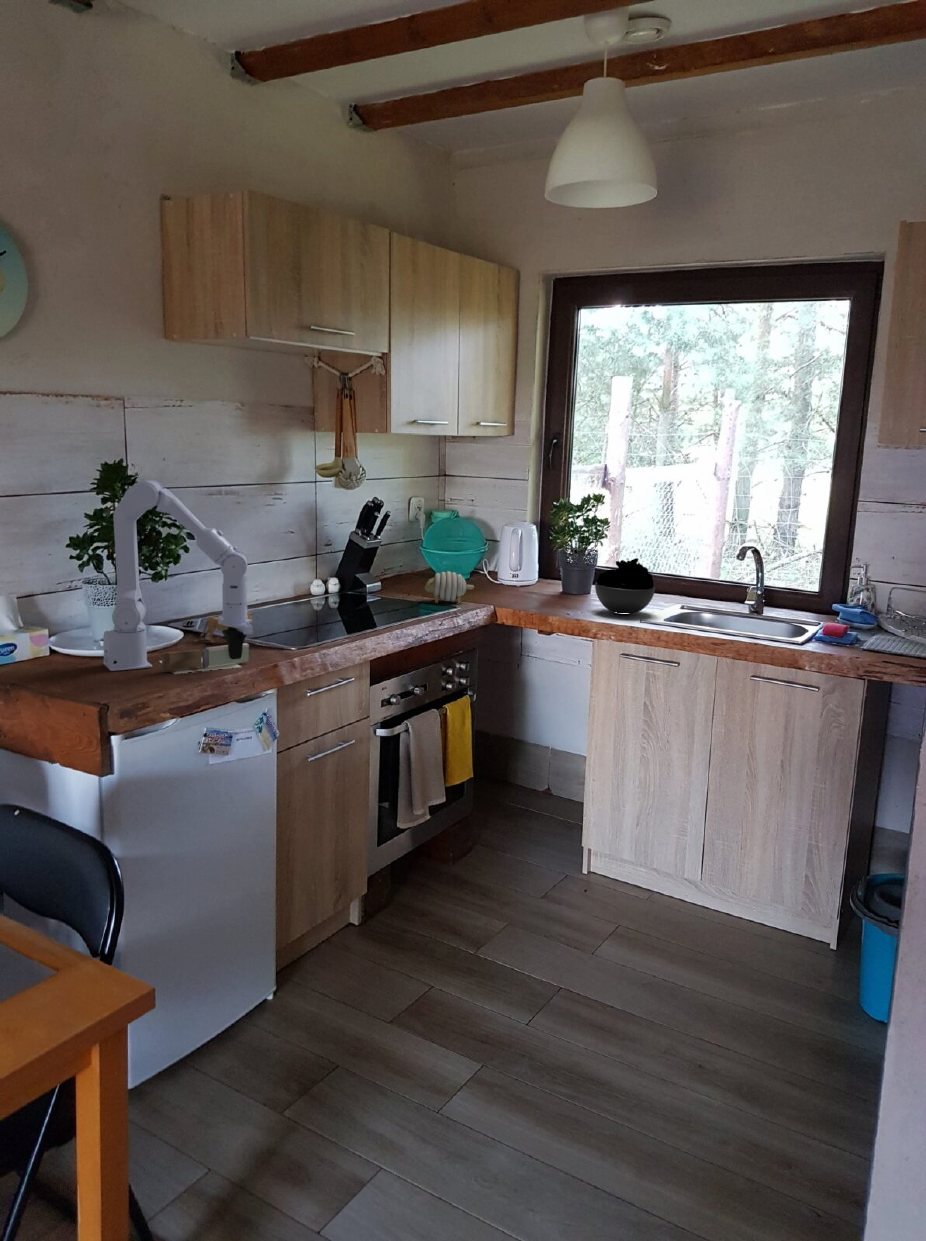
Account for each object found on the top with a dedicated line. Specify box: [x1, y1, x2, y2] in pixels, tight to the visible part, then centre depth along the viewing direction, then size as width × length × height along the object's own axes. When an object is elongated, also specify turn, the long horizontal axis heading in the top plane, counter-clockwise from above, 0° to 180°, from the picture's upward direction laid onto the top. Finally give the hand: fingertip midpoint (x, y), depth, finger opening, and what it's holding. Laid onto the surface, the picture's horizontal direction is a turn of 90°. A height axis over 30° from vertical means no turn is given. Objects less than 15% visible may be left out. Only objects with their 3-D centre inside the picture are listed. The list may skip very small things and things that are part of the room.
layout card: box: [159, 660, 243, 675], centre depth 228 cm, size 16×13×1 cm
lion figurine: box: [196, 609, 253, 644], centre depth 251 cm, size 15×5×9 cm, turn 92°
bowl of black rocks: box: [594, 557, 656, 614], centre depth 318 cm, size 20×20×19 cm
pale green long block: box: [201, 642, 250, 667], centre depth 227 cm, size 12×2×4 cm, turn 128°
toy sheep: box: [424, 570, 475, 603], centre depth 325 cm, size 11×17×11 cm, turn 98°
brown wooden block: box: [161, 649, 202, 674], centre depth 221 cm, size 9×4×4 cm, turn 123°
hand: (235, 658), depth 227 cm, fingers closed, pressing on pale green long block
